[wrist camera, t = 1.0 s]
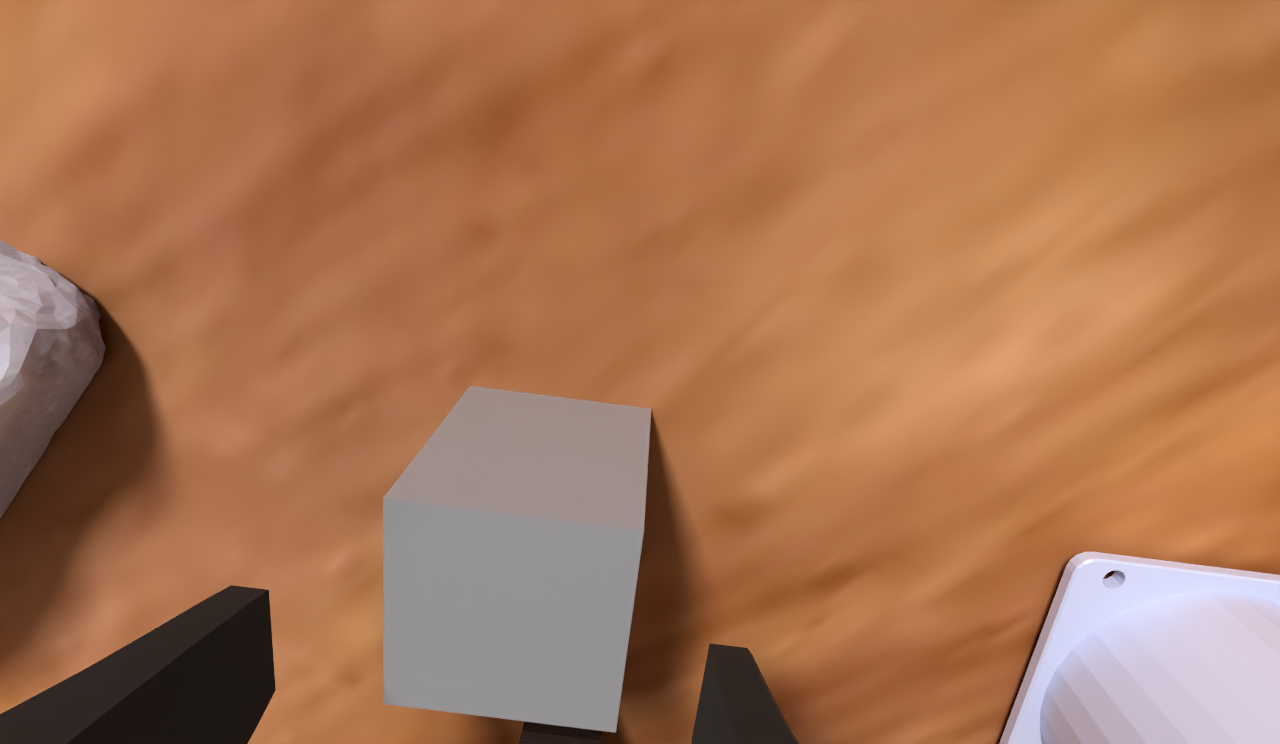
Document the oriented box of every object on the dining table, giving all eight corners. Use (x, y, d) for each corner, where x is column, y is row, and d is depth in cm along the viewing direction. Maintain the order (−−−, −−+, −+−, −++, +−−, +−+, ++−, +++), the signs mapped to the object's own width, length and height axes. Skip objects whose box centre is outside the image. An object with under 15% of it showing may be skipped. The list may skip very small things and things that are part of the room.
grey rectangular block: (651, 408, 17) (644, 531, 12) (630, 562, 18) (615, 732, 13) (470, 385, 17) (383, 498, 12) (464, 541, 18) (383, 704, 13)
